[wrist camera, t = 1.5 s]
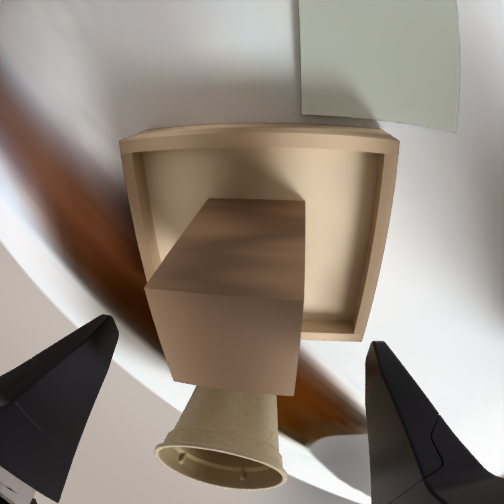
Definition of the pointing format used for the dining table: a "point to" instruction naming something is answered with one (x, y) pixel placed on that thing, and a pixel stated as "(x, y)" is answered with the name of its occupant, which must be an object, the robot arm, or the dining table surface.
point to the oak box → (276, 188)
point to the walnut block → (234, 296)
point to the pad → (381, 60)
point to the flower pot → (226, 440)
